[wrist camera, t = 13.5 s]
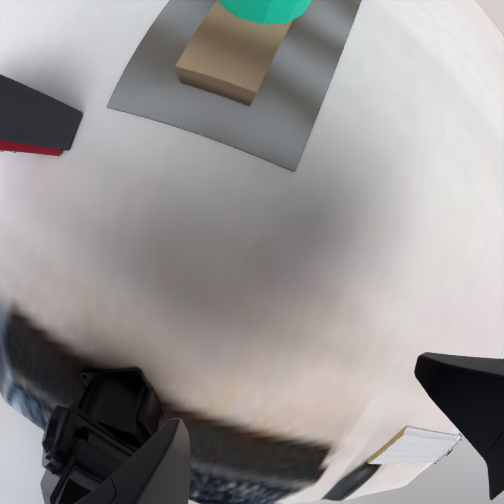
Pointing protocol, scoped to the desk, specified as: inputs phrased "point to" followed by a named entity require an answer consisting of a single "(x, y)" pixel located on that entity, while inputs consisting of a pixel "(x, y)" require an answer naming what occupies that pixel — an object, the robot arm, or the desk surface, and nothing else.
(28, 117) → the upright charcoal slab
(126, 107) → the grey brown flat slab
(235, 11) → the candle
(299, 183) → the desk surface
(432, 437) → the baseboard
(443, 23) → the desk surface
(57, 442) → the robot arm
